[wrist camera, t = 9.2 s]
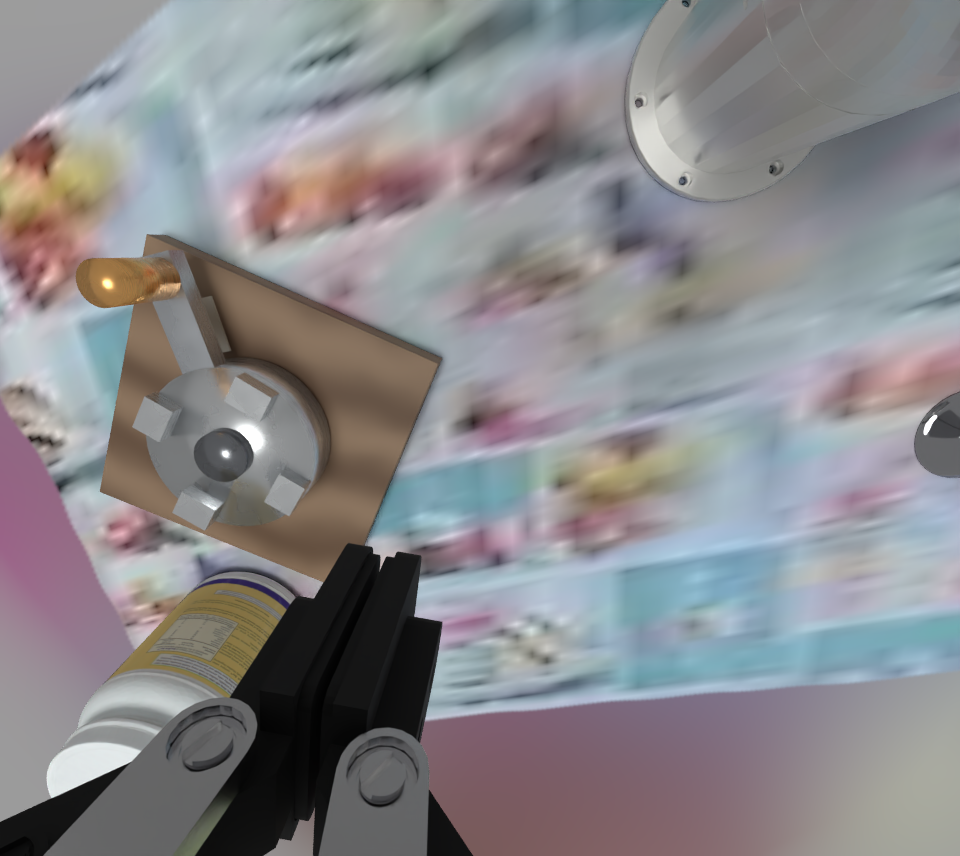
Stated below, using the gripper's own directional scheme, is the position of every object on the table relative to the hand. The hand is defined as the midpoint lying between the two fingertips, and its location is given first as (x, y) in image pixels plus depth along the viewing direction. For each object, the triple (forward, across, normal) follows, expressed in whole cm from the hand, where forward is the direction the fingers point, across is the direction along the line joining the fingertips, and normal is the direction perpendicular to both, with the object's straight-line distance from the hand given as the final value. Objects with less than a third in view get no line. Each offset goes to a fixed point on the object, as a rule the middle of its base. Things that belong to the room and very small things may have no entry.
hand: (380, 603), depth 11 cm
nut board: (+28, +16, +9) cm, 34 cm away
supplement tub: (+28, +18, +29) cm, 44 cm away
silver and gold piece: (+26, +18, +5) cm, 32 cm away
